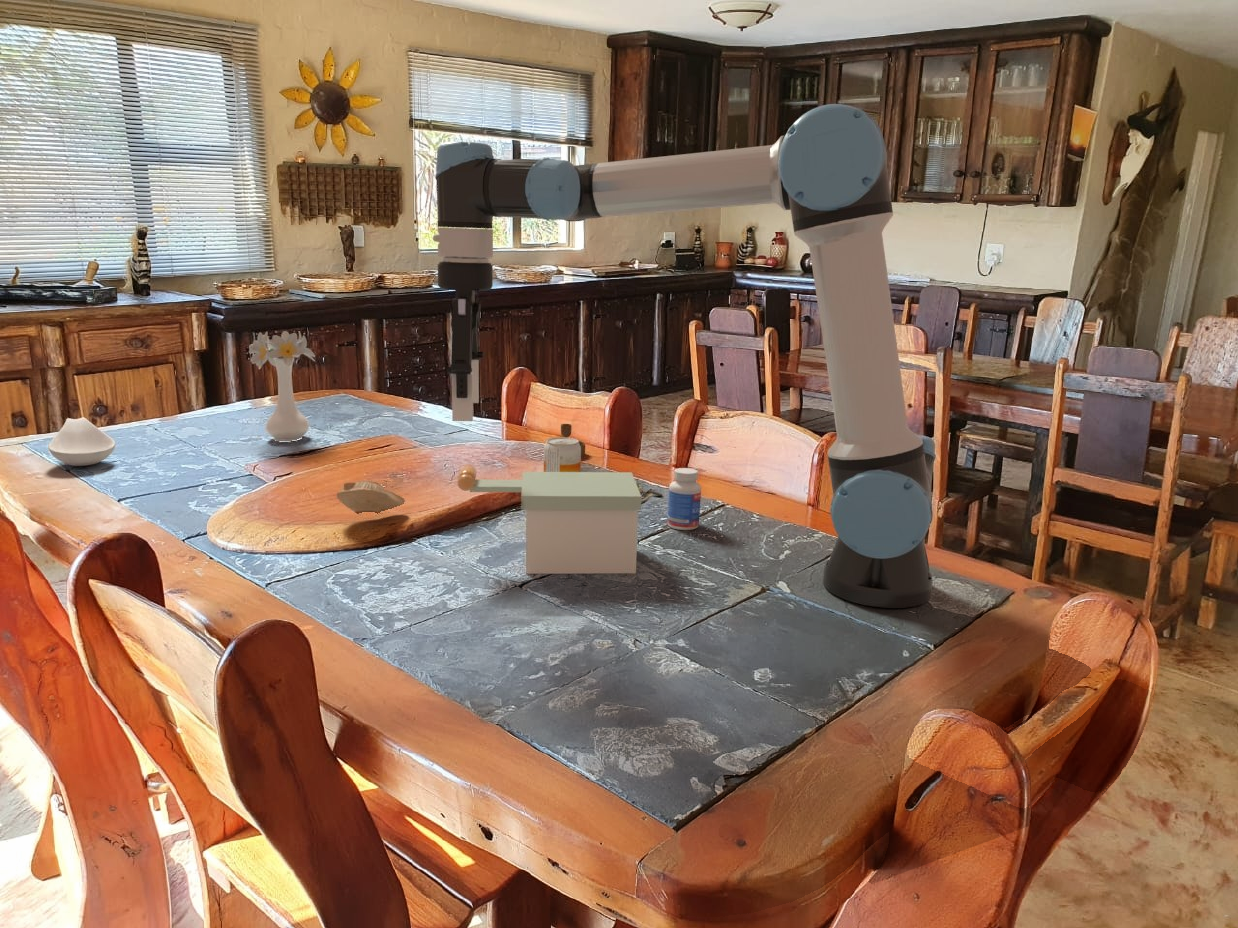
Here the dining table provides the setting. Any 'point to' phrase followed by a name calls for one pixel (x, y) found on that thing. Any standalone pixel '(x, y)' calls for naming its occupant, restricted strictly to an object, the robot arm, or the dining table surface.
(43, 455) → the dining table surface
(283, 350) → the flower vase
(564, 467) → the beer can
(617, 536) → the tub
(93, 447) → the spoon rest
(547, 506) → the lid
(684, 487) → the pill bottle
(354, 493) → the pottery oil lamp
